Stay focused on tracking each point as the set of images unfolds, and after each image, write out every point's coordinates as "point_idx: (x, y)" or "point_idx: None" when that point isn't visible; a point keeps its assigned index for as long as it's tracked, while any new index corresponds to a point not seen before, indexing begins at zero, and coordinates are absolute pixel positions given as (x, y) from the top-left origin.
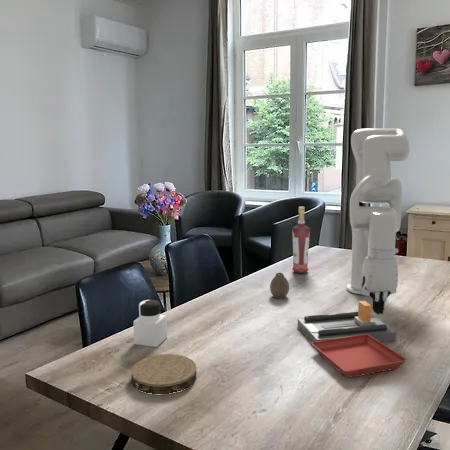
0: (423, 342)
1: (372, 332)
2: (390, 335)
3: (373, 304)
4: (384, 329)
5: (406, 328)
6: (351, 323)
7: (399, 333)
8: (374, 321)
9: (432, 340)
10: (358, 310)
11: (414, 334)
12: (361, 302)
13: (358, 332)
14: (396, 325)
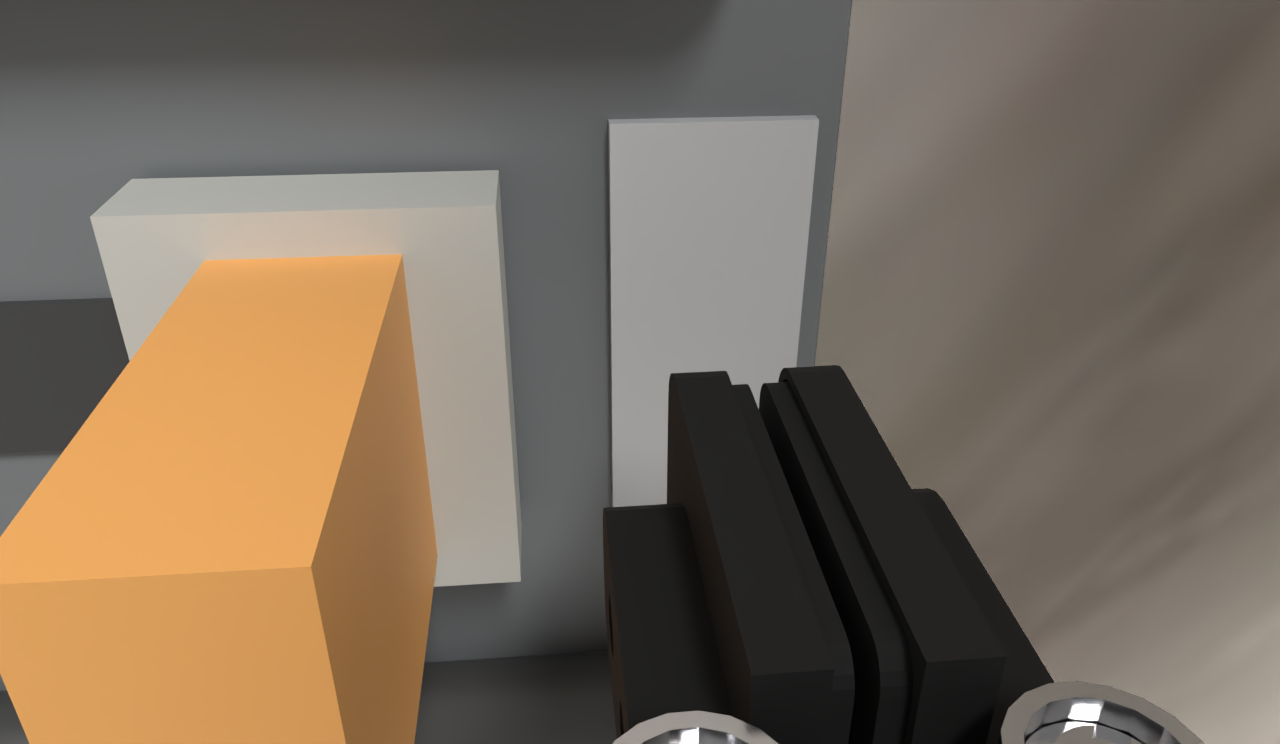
0: None
1: None
2: None
3: (620, 669)
4: None
5: (1243, 288)
6: (19, 337)
7: (972, 453)
8: (639, 332)
9: (1219, 697)
10: (133, 372)
11: (1161, 516)
12: (76, 712)
13: None
14: (1190, 119)
